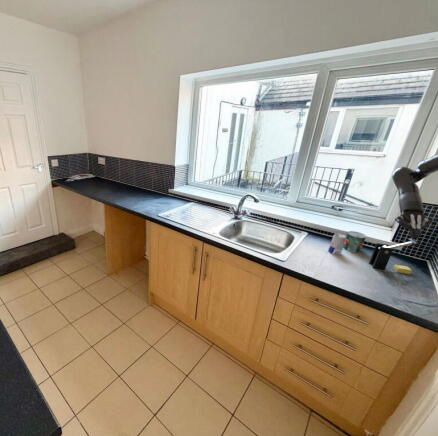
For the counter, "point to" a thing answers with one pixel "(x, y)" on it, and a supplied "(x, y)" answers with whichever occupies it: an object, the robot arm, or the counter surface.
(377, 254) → the slicer
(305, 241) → the counter surface
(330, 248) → the energy drink
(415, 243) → the blade
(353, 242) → the canned tomato
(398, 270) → the butter
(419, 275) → the counter surface
